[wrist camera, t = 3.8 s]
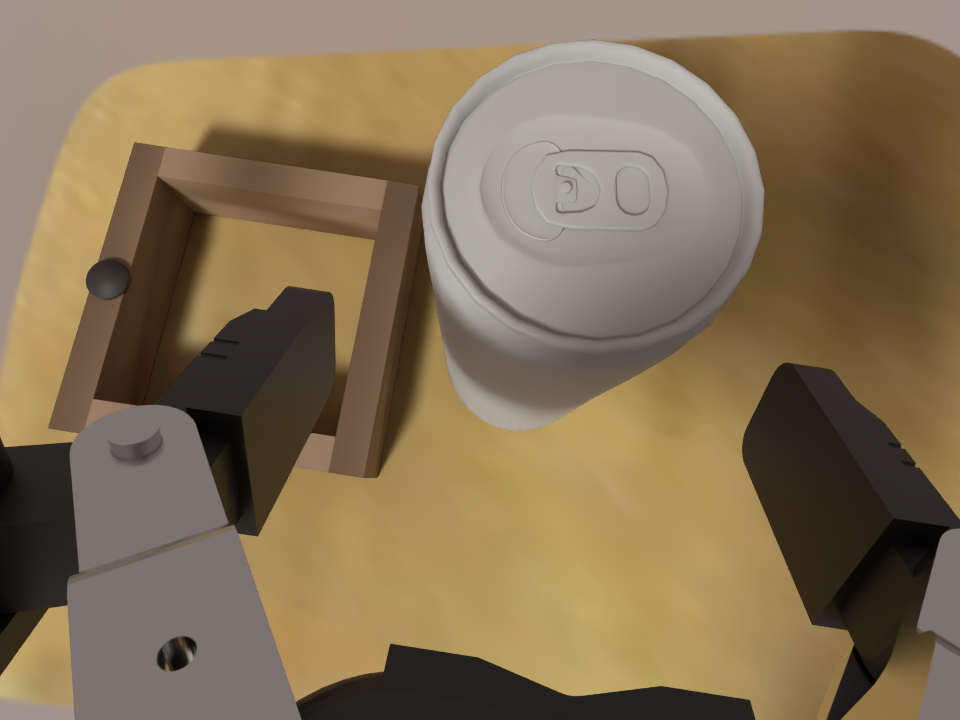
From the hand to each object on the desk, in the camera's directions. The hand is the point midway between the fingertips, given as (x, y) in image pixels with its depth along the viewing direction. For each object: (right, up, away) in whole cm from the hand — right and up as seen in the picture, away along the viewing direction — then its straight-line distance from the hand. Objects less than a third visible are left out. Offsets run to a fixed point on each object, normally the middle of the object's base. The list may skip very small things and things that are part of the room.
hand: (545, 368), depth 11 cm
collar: (-8, +1, +9) cm, 12 cm away
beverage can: (0, 0, +9) cm, 9 cm away
